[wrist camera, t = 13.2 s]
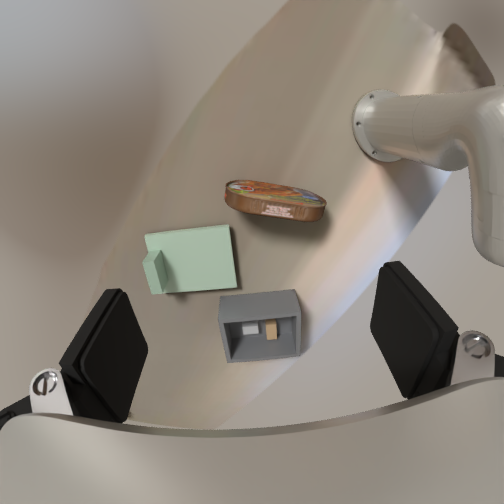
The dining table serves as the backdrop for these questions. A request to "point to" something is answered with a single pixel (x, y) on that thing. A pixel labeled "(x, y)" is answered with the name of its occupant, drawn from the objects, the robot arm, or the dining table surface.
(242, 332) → the tub
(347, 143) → the dining table surface
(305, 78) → the dining table surface
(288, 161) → the dining table surface
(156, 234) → the lid
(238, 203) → the tin
